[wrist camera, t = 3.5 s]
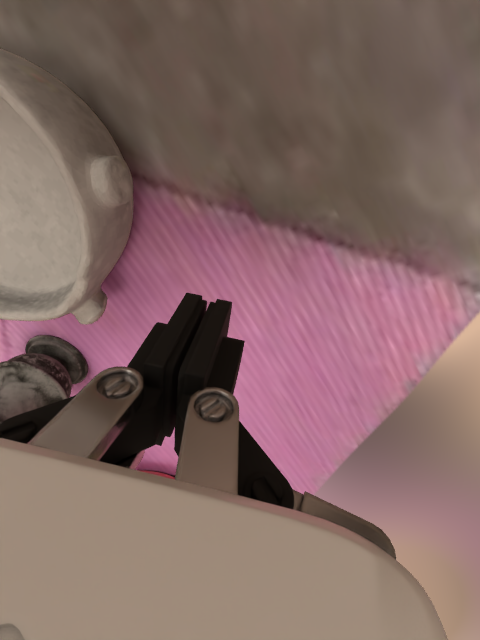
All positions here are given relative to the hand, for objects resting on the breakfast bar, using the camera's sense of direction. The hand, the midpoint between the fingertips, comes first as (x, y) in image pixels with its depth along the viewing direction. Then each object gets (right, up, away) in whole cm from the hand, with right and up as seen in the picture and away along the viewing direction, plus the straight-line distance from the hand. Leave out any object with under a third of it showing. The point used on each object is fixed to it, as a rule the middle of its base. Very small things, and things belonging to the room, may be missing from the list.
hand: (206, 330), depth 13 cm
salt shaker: (-14, -3, +16) cm, 21 cm away
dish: (-11, +8, +8) cm, 16 cm away
